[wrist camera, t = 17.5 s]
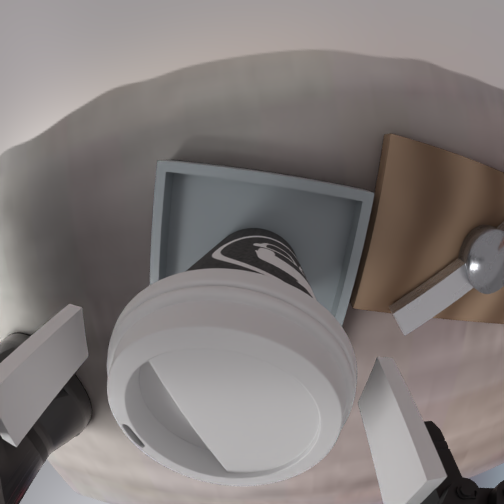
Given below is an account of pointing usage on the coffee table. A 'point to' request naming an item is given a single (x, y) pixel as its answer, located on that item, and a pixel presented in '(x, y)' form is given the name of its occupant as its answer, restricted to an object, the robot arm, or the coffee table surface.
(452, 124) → the coffee table surface
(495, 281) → the crank
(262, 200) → the tray
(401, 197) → the crank base
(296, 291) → the coffee cup
